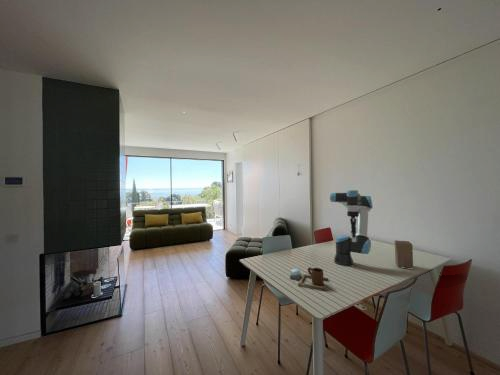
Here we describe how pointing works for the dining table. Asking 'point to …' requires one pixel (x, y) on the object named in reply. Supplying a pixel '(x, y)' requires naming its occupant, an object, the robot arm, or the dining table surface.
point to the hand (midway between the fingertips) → (353, 239)
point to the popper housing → (295, 277)
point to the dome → (295, 272)
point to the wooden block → (403, 254)
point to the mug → (316, 276)
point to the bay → (309, 284)
